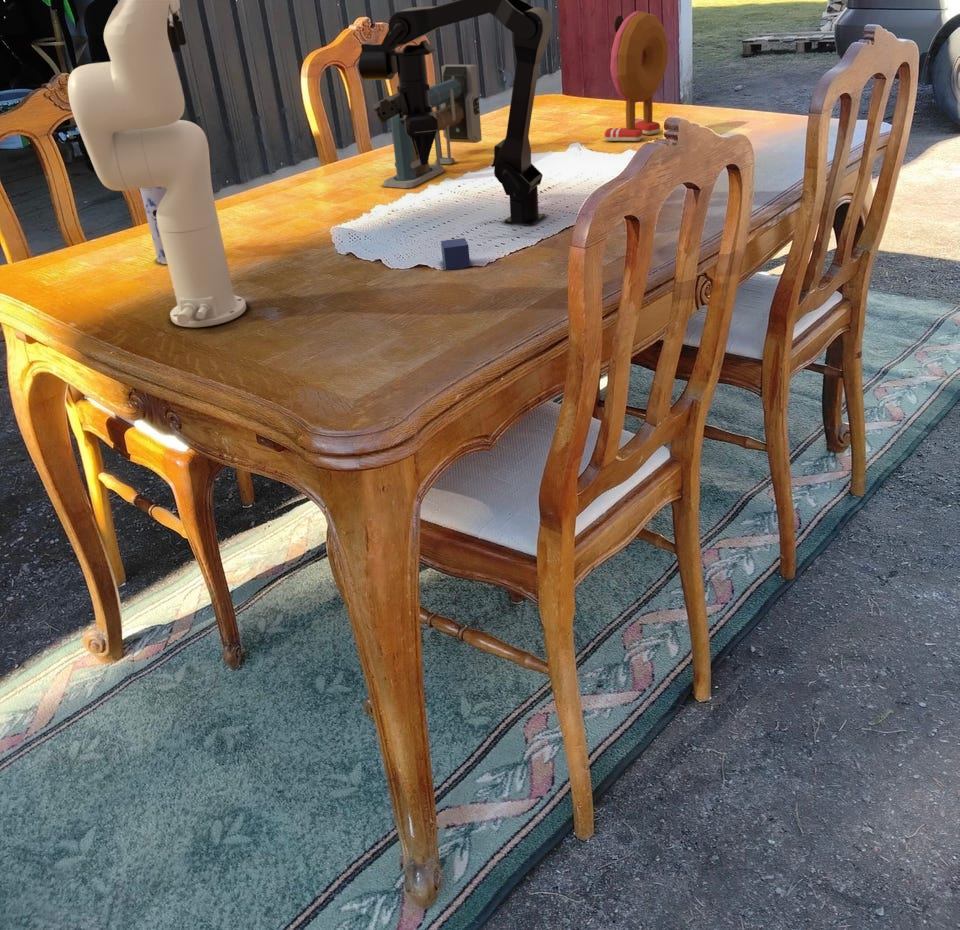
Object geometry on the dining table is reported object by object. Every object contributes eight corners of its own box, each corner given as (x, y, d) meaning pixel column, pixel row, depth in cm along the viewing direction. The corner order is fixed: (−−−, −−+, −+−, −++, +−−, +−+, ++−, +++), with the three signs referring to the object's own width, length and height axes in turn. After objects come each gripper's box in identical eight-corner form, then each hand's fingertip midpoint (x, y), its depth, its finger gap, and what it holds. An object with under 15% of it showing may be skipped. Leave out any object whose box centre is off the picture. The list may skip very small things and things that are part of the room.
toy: (639, 125, 264) (640, 5, 249) (672, 128, 258) (675, 5, 243) (595, 143, 250) (594, 16, 235) (629, 146, 245) (630, 16, 229)
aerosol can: (156, 266, 189) (130, 162, 179) (157, 254, 195) (131, 153, 185) (197, 260, 190) (173, 156, 180) (196, 248, 197) (173, 148, 187)
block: (466, 259, 179) (464, 237, 177) (470, 267, 175) (468, 244, 173) (442, 262, 179) (440, 240, 176) (446, 270, 175) (443, 247, 173)
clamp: (411, 188, 225) (400, 91, 214) (380, 186, 229) (368, 91, 218) (482, 152, 251) (476, 64, 240) (453, 150, 255) (446, 64, 244)
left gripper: (136, -60, 172) (159, 44, 180) (120, -56, 157) (146, 57, 166) (179, -63, 172) (200, 40, 181) (167, -60, 158) (190, 53, 166)
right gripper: (369, 76, 198) (378, 154, 206) (375, 91, 182) (386, 174, 190) (422, 70, 199) (430, 148, 207) (434, 84, 183) (442, 168, 191)
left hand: (174, 48), depth 173 cm, fingers open, 9 cm apart
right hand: (421, 159), depth 199 cm, fingers open, 9 cm apart
